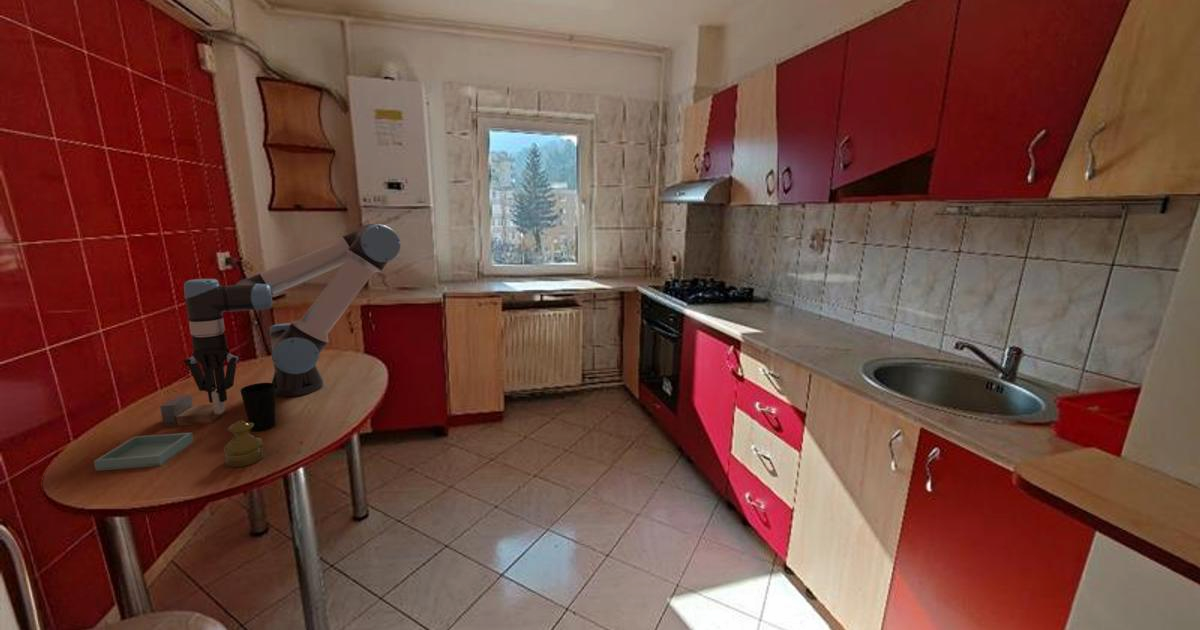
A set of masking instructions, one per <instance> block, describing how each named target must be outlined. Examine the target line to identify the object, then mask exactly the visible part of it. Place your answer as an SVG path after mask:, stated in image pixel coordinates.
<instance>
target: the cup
mask: <svg viewBox="0 0 1200 630" xmlns="http://www.w3.org/2000/svg"><path fill="white" fill-rule="evenodd" d="M240 393H241V399H242V402H243V405H244V409H245V413H246V417H247V421H250V422H253V424H254V426H253V427H252V428H251V429H250V431H251V432H254V433H258V432H260V433H261V432H265V431H269V430H271V429H273V428H275V426H276V396H275V385H274V384H273V383H271V382H260V383H252V384H248V385H247V386H243V387H242V388H241V389H240Z"/></svg>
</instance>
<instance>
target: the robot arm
mask: <svg viewBox="0 0 1200 630" xmlns="http://www.w3.org/2000/svg"><path fill="white" fill-rule="evenodd" d="M400 250H401V240H400V237H399V235H398V234H397V233H396V231H395V230H394V229H393V228H391V227H389V226H387V225H385V224H382V223H368V224H364V225H362V226H361V227H359V228H357V229H355V230H353V231H351V232H349V233H348V234H345V235H343V236H340V239H339V241H336V242H334V243H331V244H330V245H329V244H328V245H326V246H324V247H322V248H319V249H316V250H314V251H311V252H310V253H307V254H304V255H302V256H299V257H297V258H294V259H292V260H290V261H287V262H285V263H282V264H280V265H277V266H275V267H273V268H270V269H267V270H265V271H263V272H261V273H260V272H259V274H255V275H253V276H250V277H247V278H242V279H240V280H238V281H237V282H236V283H235V285H220V282H219V281H218V279H216V278H195V279H189V280H187V281H185V282H184V283H183V289H184V301H185V306H186V313H187V319H188V324H189V325H188V328H189V331H190V332H189V333H190V335H191V337H190V338H191V345H192V349H193V352H192V356H190V357H188V358H186V359H183V363H184V364H185V365H186V367H188V369H189V371H190V373H191V375H192V378H193V380H194V381H195V384H196V386H197V388H198V390H199V392H200V391H201V392H206V393H207V394H208V402H209V403H212V404H213V408H214V414H221V413H222V412H224V411H226V405H225V402H226V401H227V399H228V396H227V390H229V389H231V388H232V387H233V386H234V382H235V374H236V370H237V364H238V361H239V360H240V358H241V357H240V355H234V354H232V353H231V352H230V350H229V349H228V346H227V345H228V341H227V335H226V333H225V331H226V329H225V327H226V326H225V322H224V321H225V320H224V314H223V313H229V312H243V311H244V312H245V311H261V310H268V309H271V308H273V305H274V304H273V297H272V296H274V295H277V294H279V293H280V292H283V291H285V290H287V289H290V288H292V287H295V286H297V285H299V284H302V283H304V282H306V281H308V280H311V279H314V278H315V277H318V276H320V275H322V274H325V273H327V272H330V271H332V270H335V269H336V268H339V267H340V268H339V270H337V272H336V273H335V274H334V275H333V277H332V278H331V280H330V281H329V283H327V285H325V287H324V289H323V290H322V292H321V293H319V295H318V297H316V299H315V301H314V302H313V303H312V304H311V306H310V307H309V308H308V310H307V311H306V312H305V314H304V315H303V316H302V317H301V318H300V319H298V320H294V321H291V322H286V323H278V324H277V323H276V324H273V325H271V326H270V327H269V336H270V344H271V360H272V362H273V366H274V367H273V368H274V372H273V375H272V379H271V382H270V383H273V384H274V385H275V397H279V398H281V397H282V398H290V397H299V396H302V395H303V396H304V395H308V394H312V393H314V392H317V391H319V390H321V389H322V388H323V387H324V385H325V384H324V378H323V377H322V374H321V372H320V370H319V369H318V366H317V363H318V361H319V359H320V358H319V357H320V354H321V352H322V351H323V350H324V348H326V346H327V344H329V341H330V340H329V337H328V335H329V333H330V332H331V330H332V329H333V328H334V326H336V324H337V322H338V321H339V320H340V318H341V317H342V316H343V314H344V313H345V312H346V310H347V309H348V308H349V307H350V305H351V303H353V301H354V299H355V298H356V297H357V296H358V294H359V293H360V292H361V290H362V289H363V288H364V286H365V285H366V284H367V282H368V281H369V280H370V279H371V277H372V276H373V274H375V273H381V272H382V270H384V268H385V267H386V265H387V264H388V263H389V262H391V261H392V260H394V258H396V257H397V256H398V254H399V253H400ZM225 361H226V362H227V366H226V371H225ZM200 364H201V366H200ZM224 413H225V412H224Z"/></svg>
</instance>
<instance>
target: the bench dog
mask: <svg viewBox="0 0 1200 630" xmlns="http://www.w3.org/2000/svg"><path fill="white" fill-rule="evenodd" d="M192 406H194V405H193V399H192V394H183V395H178V396H176V397H174V398H172V399H169V401H167V402H165V403H164V404H162V405H160V413H161V418H162V419H161V420H162V422H163V427H171V426H174V427H175V426H178V425H177V420H176V416H177V415H179V414H181V413H182V412H184V411H185V410H187V409H189V408H190V407H192Z"/></svg>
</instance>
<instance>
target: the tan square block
mask: <svg viewBox="0 0 1200 630" xmlns="http://www.w3.org/2000/svg"><path fill="white" fill-rule="evenodd" d="M225 412H226V410H225V411H224V412H222V413H221V414H214V408H213V403H212V404H200V405H199V404H198V405H197V404H196V405H193V406H192V407H190V408H189V409H187V410H185V411H184V412H182V413H181V414H179V415H177V416H176V420H177V425H176V426H188V425H189V426H190V425H201V424H212V422H214V421H215V420H216V419H218V418H219V417H221V416H222V415H223V414H224V413H225Z"/></svg>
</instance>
